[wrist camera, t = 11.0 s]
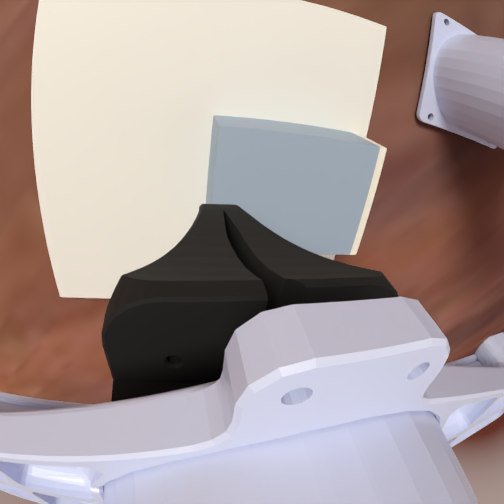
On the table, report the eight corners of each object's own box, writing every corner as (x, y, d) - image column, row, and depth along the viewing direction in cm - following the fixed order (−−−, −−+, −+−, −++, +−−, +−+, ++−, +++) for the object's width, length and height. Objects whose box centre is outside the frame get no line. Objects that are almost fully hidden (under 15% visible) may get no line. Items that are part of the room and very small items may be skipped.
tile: (376, 27, 14) (386, 26, 13) (317, 286, 23) (322, 295, 22) (46, 1, 10) (39, -1, 9) (63, 287, 19) (60, 297, 18)
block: (213, 115, 14) (358, 133, 16) (204, 224, 18) (334, 228, 19) (219, 125, 12) (386, 148, 14) (208, 254, 15) (356, 254, 17)
